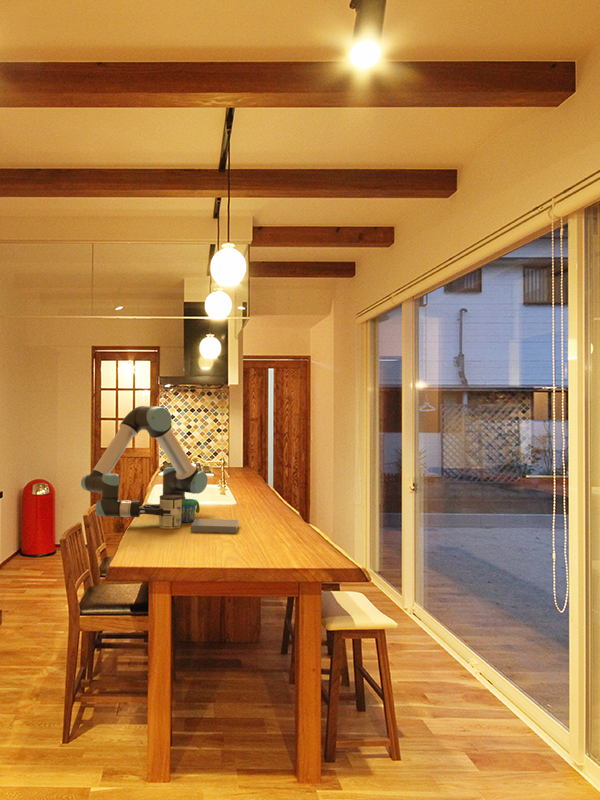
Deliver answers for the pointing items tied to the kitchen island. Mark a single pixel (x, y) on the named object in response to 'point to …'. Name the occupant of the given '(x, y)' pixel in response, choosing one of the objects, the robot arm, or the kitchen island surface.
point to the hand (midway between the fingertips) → (179, 510)
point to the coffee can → (170, 503)
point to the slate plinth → (215, 525)
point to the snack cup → (189, 509)
